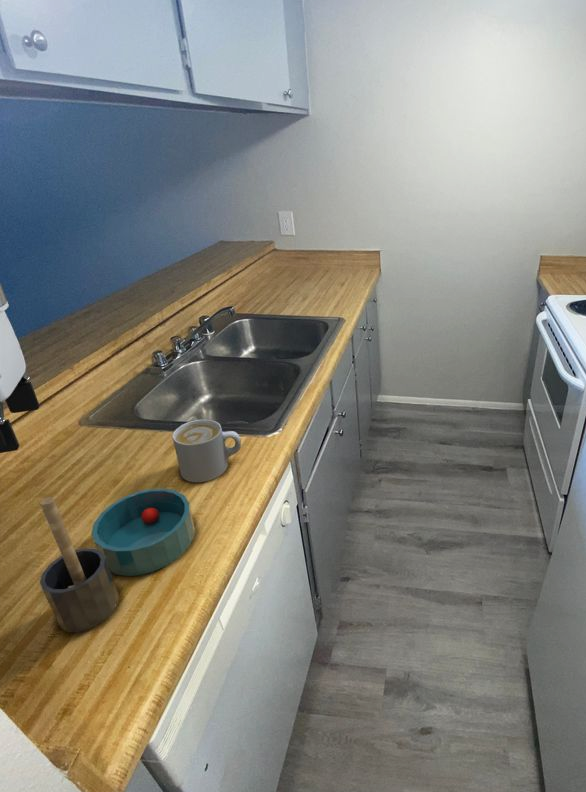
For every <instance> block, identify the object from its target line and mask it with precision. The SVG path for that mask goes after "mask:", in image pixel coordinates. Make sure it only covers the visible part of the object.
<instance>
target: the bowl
mask: <svg viewBox="0 0 586 792" xmlns="http://www.w3.org/2000/svg"><path fill="white" fill-rule="evenodd" d="M147 508H155V509H157V510H158V512H159V517H158V519H157V520H156V521H155V522H154V523H151V524H147V523H145V522H143V520H142V517H141V516H142V513H143V511H144V510H145V509H147ZM91 529H92V530H91V537H92V539H93V542H94V544H95V549H97V550H99V551H101V552H102V553H103V555H104V556H105V559H106V561H107V564H108V567H109V570H110V572H111V574H115V575H119V576H124V577H132V576H141V575H146V574H151V573H154V572H155V571H158V570H161V569H162V568H163V569H164V568H165V567H167V566H168V565H170V564H172V563H173V562H175V561H176V560H177V559H178V558H180V557H181V556H182V555H183V554H184V553H185V552H186V551H187V550H188V548H189V547H190V545H191V544H192V542H193V540H194V536H195V530H196V529H195V522H194V518H193V513H192V509H191V505H190V502H189V500H188V498H187V496H185V494H183V493H181V492H179V491H178V490H175V489H171V488H148V489H144V490H139V491H136V492H133V493H131V494H127V495H125V496H123V497H121V498H120V499H118V500H117V501H114V502H113V503H111V504H110V505H109V506H107V507H106V508H105V509H104V510H103V511H102V512H100V514H99V515H98V517H97V518H96V519H95V521H94V523H93V524H92V528H91Z"/></svg>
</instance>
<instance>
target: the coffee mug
mask: <svg viewBox="0 0 586 792" xmlns="http://www.w3.org/2000/svg"><path fill="white" fill-rule="evenodd" d="M228 439H233V441H234V446H231V447H228V446H227V445H226V441H227V440H228ZM172 441H173V446H174V450H175V455H176V459H177V463H178V467H179V468H178V469H179V472H180V476H181V478H182V479H183V480H185V481H187V482H190V483H204V482H209V481H212V480H214V479H217V478H219V477H220V476H221V475H223V474H224V473H225V472H226V470H227V468H228V466H229V465H228V464H229V463H228V459H229V458H230V457H231V456H233V455H236V454H237V453H238V452H239V451H240V450H241V447H242V441H241V436H240V435H239V434H238V432H236V431H232V430H229V431H228V430H227V431H223V428H222V426H221V424H220V422H217V421H215V420H212V419H196V420H192V421H188V422H185V423H183V424H181V425H179V426H178V427H177V428H176V429H175V430H174V431H173V432H172Z"/></svg>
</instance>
